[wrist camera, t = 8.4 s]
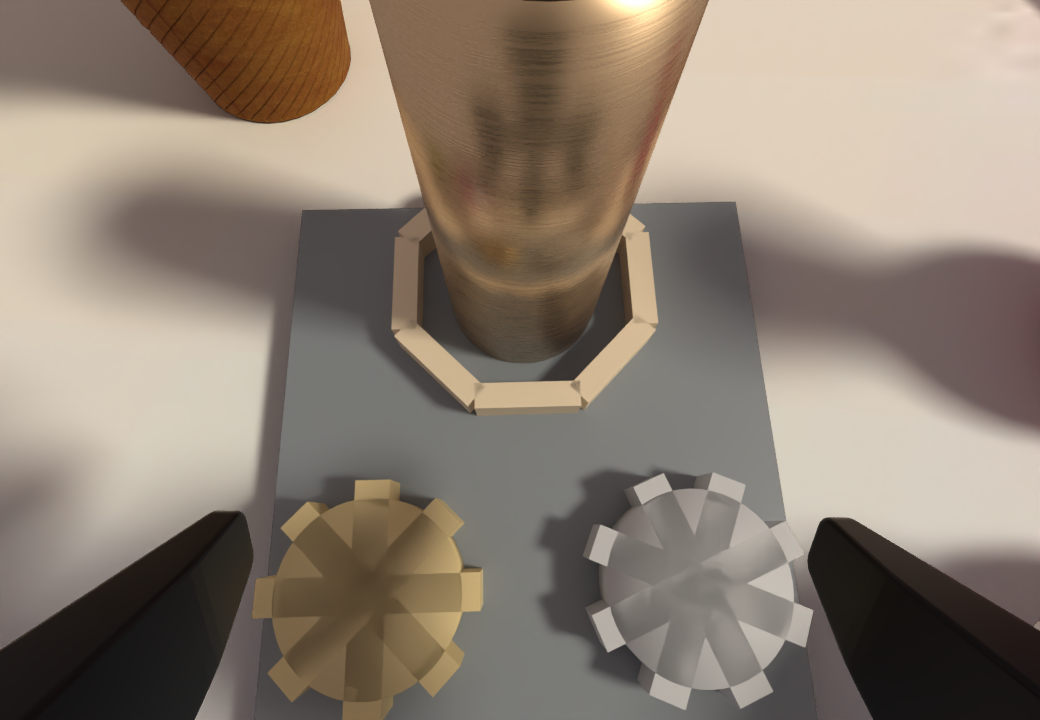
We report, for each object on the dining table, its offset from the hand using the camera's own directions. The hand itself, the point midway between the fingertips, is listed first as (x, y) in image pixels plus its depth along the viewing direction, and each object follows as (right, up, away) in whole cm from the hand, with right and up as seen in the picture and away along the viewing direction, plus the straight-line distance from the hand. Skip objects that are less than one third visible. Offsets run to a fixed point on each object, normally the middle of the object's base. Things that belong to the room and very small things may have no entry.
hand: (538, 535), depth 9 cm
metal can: (0, +5, +11) cm, 12 cm away
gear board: (0, -2, +10) cm, 10 cm away
